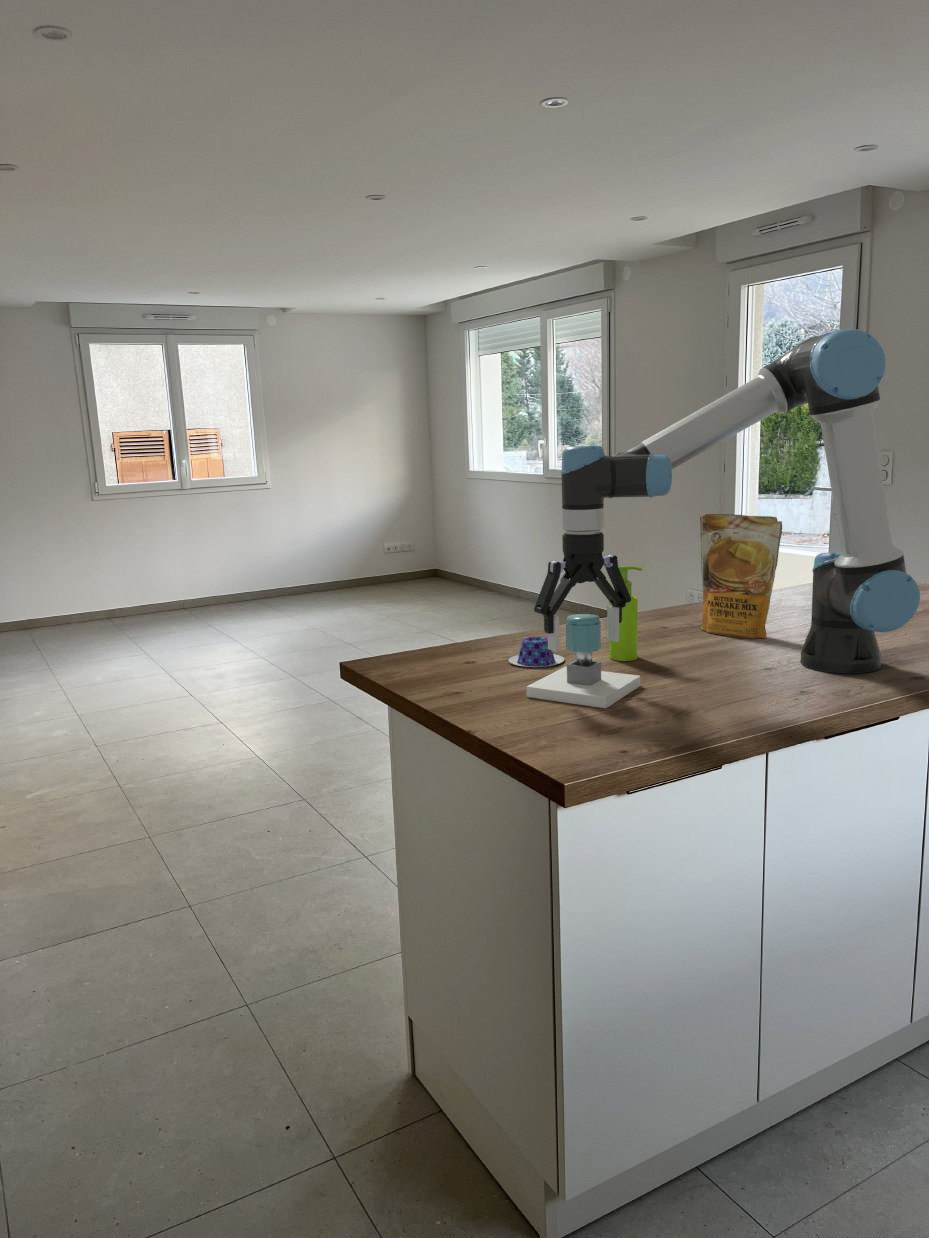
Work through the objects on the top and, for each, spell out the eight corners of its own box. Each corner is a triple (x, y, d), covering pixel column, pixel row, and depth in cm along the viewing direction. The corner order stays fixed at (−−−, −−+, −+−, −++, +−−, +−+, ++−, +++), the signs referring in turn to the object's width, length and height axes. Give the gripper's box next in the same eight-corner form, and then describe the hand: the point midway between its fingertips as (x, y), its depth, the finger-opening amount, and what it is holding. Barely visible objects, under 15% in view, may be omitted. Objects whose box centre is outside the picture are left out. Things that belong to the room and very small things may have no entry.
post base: (640, 685, 173) (640, 658, 172) (605, 708, 160) (605, 678, 159) (565, 676, 181) (564, 649, 180) (526, 696, 168) (526, 668, 167)
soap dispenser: (642, 661, 191) (642, 568, 187) (609, 660, 192) (608, 568, 188) (642, 654, 196) (642, 563, 192) (610, 654, 198) (610, 564, 194)
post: (595, 673, 170) (595, 621, 168) (588, 677, 168) (587, 624, 166) (580, 671, 172) (579, 620, 170) (572, 675, 169) (572, 623, 167)
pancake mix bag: (704, 626, 222) (706, 512, 216) (779, 635, 209) (784, 515, 204) (691, 631, 217) (693, 515, 211) (767, 641, 204) (772, 517, 199)
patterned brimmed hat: (530, 673, 186) (530, 648, 185) (497, 662, 196) (496, 638, 195) (575, 663, 192) (575, 639, 191) (541, 653, 202) (541, 630, 201)
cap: (587, 643, 173) (587, 612, 172) (606, 649, 167) (606, 617, 166) (560, 647, 170) (560, 616, 169) (578, 653, 165) (578, 621, 164)
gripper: (625, 525, 173) (625, 633, 177) (513, 535, 162) (516, 650, 167) (650, 528, 167) (649, 640, 171) (535, 539, 156) (537, 658, 160)
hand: (583, 645), depth 169 cm, fingers open, 13 cm apart
